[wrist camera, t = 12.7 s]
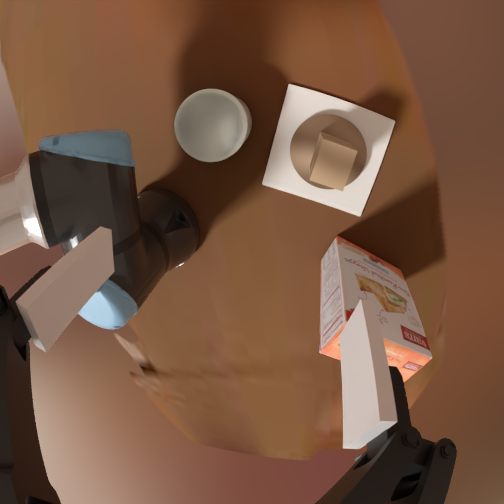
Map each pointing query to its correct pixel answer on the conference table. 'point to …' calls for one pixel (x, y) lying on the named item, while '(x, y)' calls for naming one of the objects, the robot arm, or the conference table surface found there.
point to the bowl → (212, 125)
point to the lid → (328, 151)
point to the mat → (315, 103)
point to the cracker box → (375, 290)
